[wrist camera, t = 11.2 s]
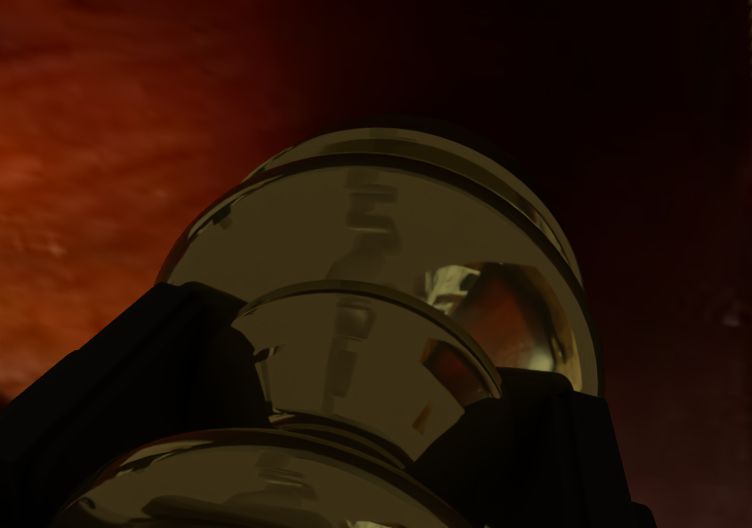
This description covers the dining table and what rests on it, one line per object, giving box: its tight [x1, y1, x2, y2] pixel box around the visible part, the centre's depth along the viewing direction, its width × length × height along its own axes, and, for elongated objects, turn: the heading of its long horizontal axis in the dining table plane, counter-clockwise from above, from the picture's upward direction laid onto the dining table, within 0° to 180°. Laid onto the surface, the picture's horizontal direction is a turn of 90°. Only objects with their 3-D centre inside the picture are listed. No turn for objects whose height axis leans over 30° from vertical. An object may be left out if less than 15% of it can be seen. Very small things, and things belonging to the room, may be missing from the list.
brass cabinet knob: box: [46, 114, 605, 528], centre depth 10 cm, size 7×7×10 cm
